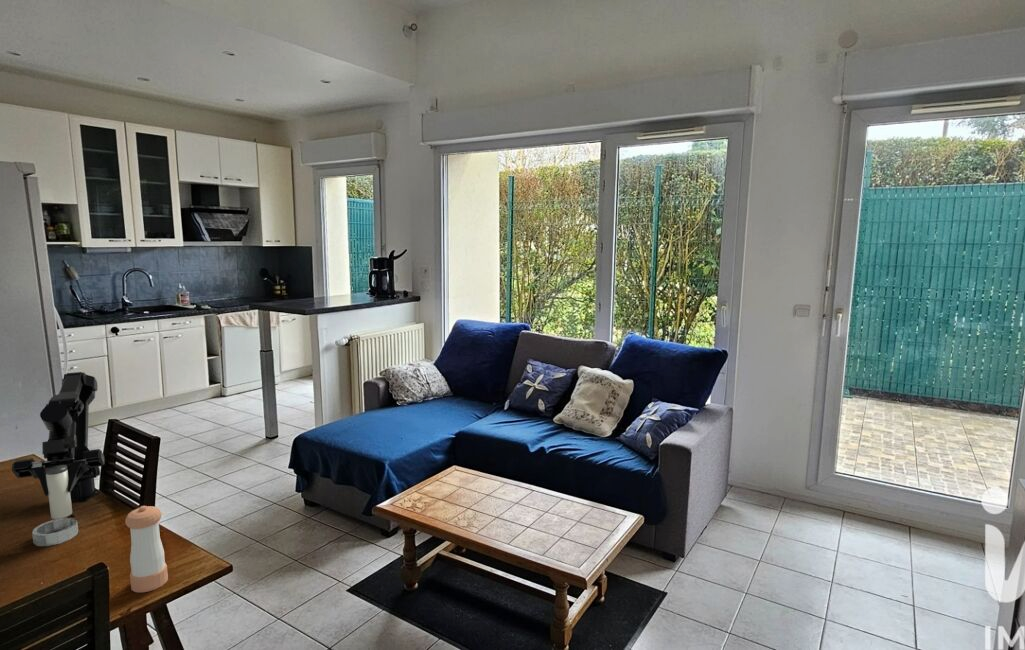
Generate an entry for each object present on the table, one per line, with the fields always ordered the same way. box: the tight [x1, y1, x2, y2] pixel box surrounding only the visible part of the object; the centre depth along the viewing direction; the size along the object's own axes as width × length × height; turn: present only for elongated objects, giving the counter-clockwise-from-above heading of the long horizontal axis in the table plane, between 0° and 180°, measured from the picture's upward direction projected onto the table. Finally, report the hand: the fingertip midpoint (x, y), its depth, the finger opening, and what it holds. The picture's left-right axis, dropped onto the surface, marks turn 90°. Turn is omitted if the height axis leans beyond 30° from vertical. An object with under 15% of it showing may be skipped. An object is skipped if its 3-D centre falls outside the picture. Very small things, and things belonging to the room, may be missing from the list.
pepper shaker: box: [124, 505, 169, 593], centre depth 130 cm, size 7×7×19 cm
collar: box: [31, 517, 79, 547], centre depth 150 cm, size 9×9×3 cm
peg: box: [45, 465, 73, 520], centre depth 147 cm, size 4×4×13 cm
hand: (57, 493), depth 146 cm, fingers closed on peg, 4 cm apart
